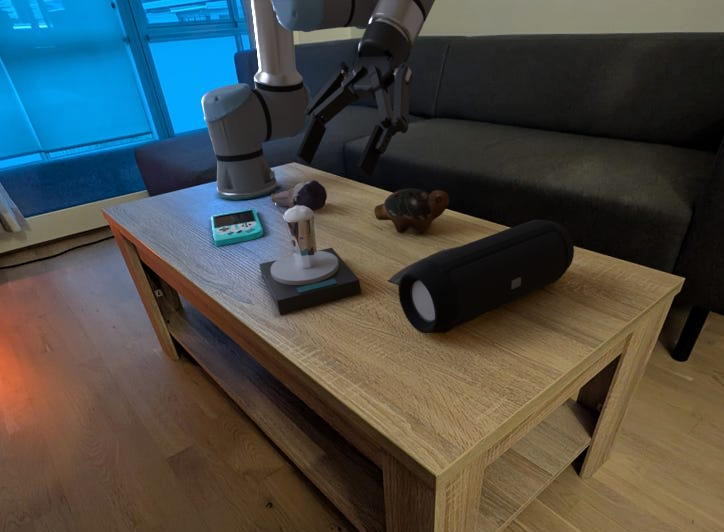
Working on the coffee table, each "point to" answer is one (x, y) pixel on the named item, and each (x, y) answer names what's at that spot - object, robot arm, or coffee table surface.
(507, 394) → the coffee table surface
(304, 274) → the scale
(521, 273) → the portable speaker
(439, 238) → the coffee table surface
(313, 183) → the figurine
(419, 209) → the decorative turtle
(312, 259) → the milkshake
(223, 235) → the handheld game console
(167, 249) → the coffee table surface
